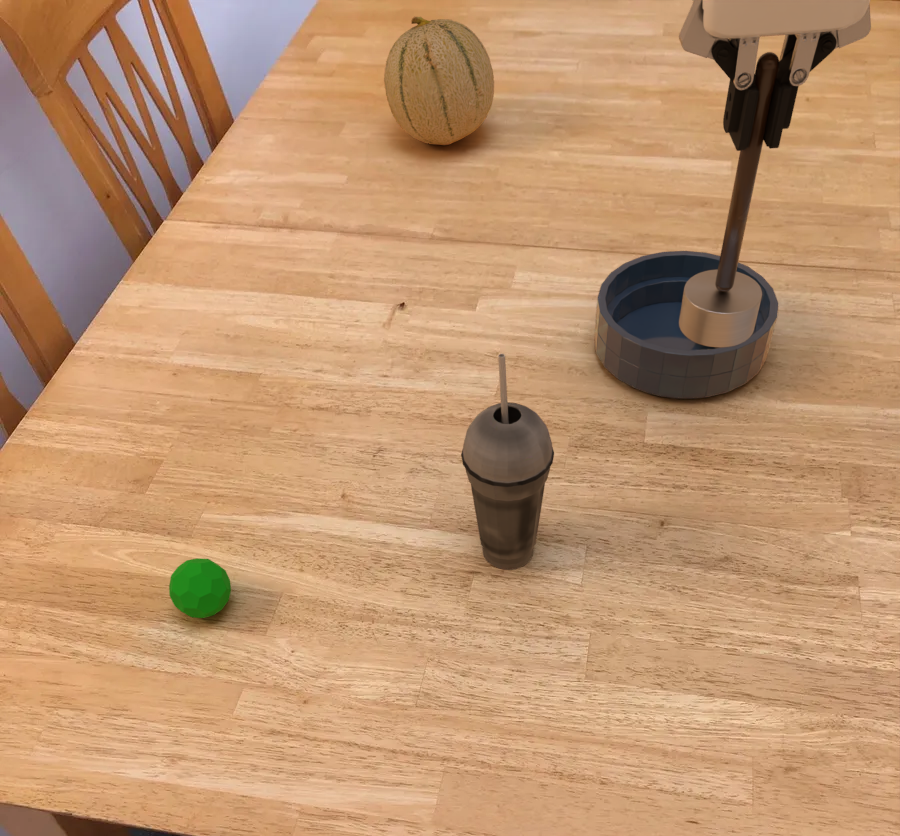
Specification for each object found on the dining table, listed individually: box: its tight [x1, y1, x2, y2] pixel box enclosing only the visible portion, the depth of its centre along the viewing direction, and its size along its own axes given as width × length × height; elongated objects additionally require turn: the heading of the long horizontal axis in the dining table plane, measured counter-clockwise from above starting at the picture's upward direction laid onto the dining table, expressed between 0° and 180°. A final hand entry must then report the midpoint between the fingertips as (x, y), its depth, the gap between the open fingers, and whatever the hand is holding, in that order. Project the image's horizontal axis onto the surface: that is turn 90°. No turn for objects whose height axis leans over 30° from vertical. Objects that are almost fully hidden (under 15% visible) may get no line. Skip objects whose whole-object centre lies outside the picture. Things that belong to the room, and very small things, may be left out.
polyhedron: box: [168, 557, 232, 619], centre depth 77 cm, size 5×5×5 cm
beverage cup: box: [460, 353, 555, 571], centre depth 73 cm, size 7×7×20 cm
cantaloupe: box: [383, 16, 495, 146], centre depth 122 cm, size 15×15×15 cm
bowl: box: [593, 250, 779, 400], centre depth 95 cm, size 18×18×6 cm
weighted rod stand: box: [679, 51, 780, 347], centre depth 67 cm, size 6×6×21 cm
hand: (752, 138), depth 64 cm, fingers closed on weighted rod stand, 1 cm apart
